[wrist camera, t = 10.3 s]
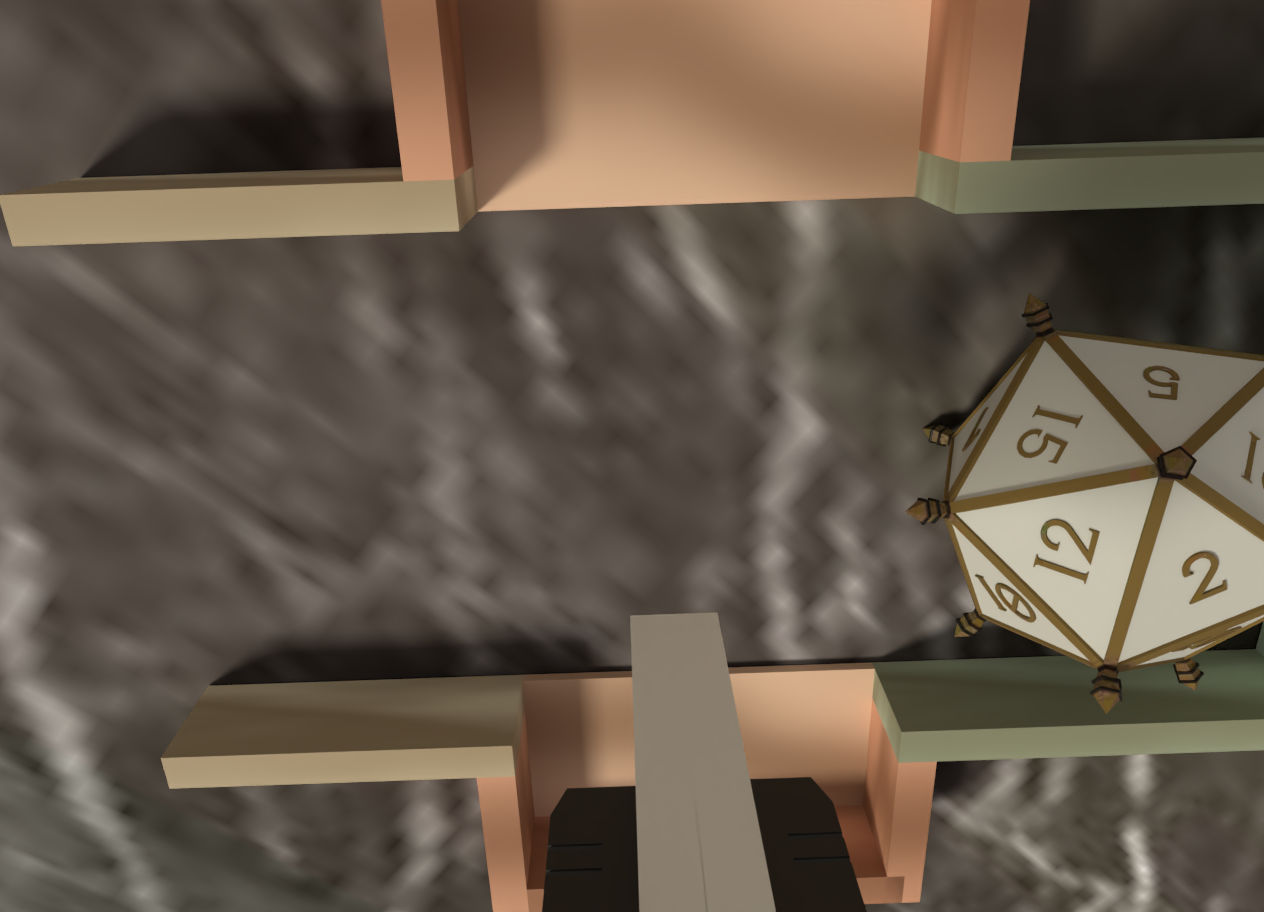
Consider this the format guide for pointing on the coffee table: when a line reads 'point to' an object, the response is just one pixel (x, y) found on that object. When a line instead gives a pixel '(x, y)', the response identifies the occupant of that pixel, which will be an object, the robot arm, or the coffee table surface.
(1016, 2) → the trap box
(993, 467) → the game die
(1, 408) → the coffee table surface
